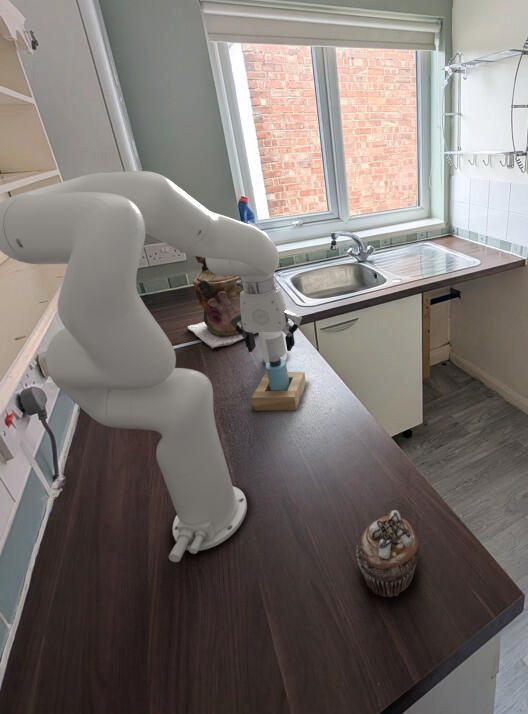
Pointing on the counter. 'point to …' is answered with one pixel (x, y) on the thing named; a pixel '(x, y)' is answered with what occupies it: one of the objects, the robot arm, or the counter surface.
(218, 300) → the cookie jar
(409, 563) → the cupcake
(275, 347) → the spray bottle
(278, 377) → the bottle
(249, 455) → the counter surface
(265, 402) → the square wooden frame
